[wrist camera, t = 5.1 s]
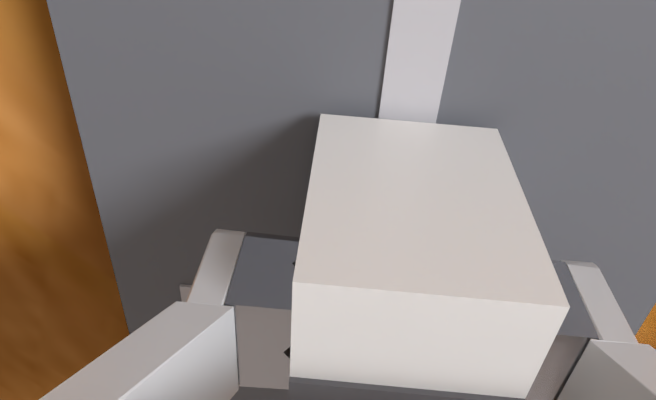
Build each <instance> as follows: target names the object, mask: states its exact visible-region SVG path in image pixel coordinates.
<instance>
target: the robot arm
mask: <svg viewBox="0 0 656 400" xmlns="http://www.w3.org/2000/svg"><path fill="white" fill-rule="evenodd" d="M299 240H300V237H291V236H282V235H273V234H264V233H255V232H242V231H233V230H224V229H216V230H215V231H214V232H213V233H212V234H211V237H210V240H209V242H208V245H207V247H206V250H205V253H204V255H203V258H202V260H201V263H200V266H199V268H198V271H197V274H196V276H195V279H194V281H193V284H192V287H191V289H190V292H189V295H188V297H187V300H186V302H179V301H176V302H174V303H173V304H172V305H170V306H169V307H167V308H166V309H165V310H163V311H162V312H160V313H159V314H158V315H156V316H155V317H153V318H152V319H151V320H149V321H148V322H146V323H145V324H144V325H142V326H141V327H139V328H138V329H137V330H135V331H134V332H132V333H131V334H130V335H128V336H127V337H125V338H124V339H123V340H121V341H120V342H118V343H117V344H116V345H114V346H113V347H112V348H110V349H109V350H107V351H106V352H105V353H103V354H102V355H100V356H99V357H98V358H96V359H95V360H93V361H92V362H91V363H89V364H88V365H86V366H85V367H84V368H82V369H81V370H79V371H78V372H77V373H75V374H74V375H72V376H71V377H70V378H68V379H67V380H65V381H64V382H63V383H61V384H60V385H58V386H57V387H56V388H54V389H53V390H51V391H50V392H49V393H47V394H46V395H45V396H43V397H42V398H40V399H39V400H230V399H231V398H232V397H233V396H234V395H235V393H236V392H237V391H238V390H239V386H242V387H257V388H273V389H288V390H289V377H290V348H291V315H292V282H293V276H294V270H295V264H296V258H297V252H298V246H299ZM551 261H552V264H553V266H554V269H555V271H556V274H557V276H558V279H559V281H560V283H561V286H562V288H563V291H564V293H565V296H566V298H567V301H568V303H569V305H570V308H569V311H568V313H567V315H566V317H565V319H564V321H563V323H562V325H561V327H560V329H559V331H558V333H557V335H556V337H555V339H554V341H553V343H552V345H551V347H550V349H549V351H548V353H547V355H546V357H545V359H544V361H543V364H542V366H541V368H540V370H539V372H538V374H537V376H536V378H535V380H534V382H533V384H532V386H531V388H530V390H529V392H528V394H527V396H526V398H525V400H656V350H655V349H654V348H653V347H651V346H650V345H648V344H639V343H638V341H637V340H636V338H635V336H634V334H633V332H632V330H631V328H630V326H629V324H628V322H627V320H626V319H625V317H624V315H623V313H622V311H621V309H620V307H619V305H618V303H617V301H616V299H615V297H614V296H613V294H612V292H611V290H610V288H609V286H608V284H607V282H606V280H605V278H604V276H603V275H602V273H601V271H600V269H599V267H598V266H597V265H595V264H594V263H593V262H581V261H567V260H560V261H557V260H551Z"/></svg>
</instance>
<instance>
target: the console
mask: <svg viewBox="0 0 656 400" xmlns="http://www.w3.org/2000/svg"><path fill="white" fill-rule="evenodd" d="M46 1H47V5H48V9H49V13H50V17H51V21H52V25H53V29H54V33H55V37H56V41H57V45H58V49H59V53H60V57H61V61H62V65H63V69H64V73H65V77H66V81H67V85H68V89H69V93H70V97H71V101H72V105H73V109H74V113H75V117H76V121H77V125H78V129H79V133H80V137H81V141H82V145H83V149H84V153H85V157H86V161H87V165H88V169H89V173H90V177H91V181H92V185H93V189H94V193H95V197H96V201H97V205H98V209H99V213H100V217H101V221H102V225H103V229H104V233H105V237H106V242H107V246H108V250H109V254H110V258H111V262H112V266H113V270H114V274H115V278H116V282H117V286H118V290H119V294H120V298H121V302H122V306H123V310H124V314H125V318H126V322H127V326H128V330H129V334H131V333H132V332H134V331H135V330H137V329H138V328H139V327H141V326H142V325H144V324H145V323H146V322H148V321H149V320H151V319H152V318H153V317H155V316H156V315H158V314H159V313H160V312H162V311H163V310H165V309H166V308H167V307H169V306H170V305H172V304H173V303H174V302H176V301H179V302H186V300H187V297H188V295H189V292H190V289H191V287H192V284H193V281H194V279H195V276H196V274H197V271H198V268H199V266H200V263H201V260H202V258H203V255H204V253H205V250H206V247H207V245H208V242H209V240H210V237H211V234H212V233H213V232H214V231H215V230H216V229H224V230H233V231H242V232H255V233H264V234H273V235H282V236H291V237H300V234H301V228H302V222H303V216H304V210H305V204H306V198H307V192H308V186H309V180H310V174H311V168H312V162H313V157H314V151H315V145H316V139H317V133H318V127H319V121H320V115H321V114H331V115H343V116H354V117H366V118H377V119H389V120H401V121H412V122H424V123H436V124H447V125H459V126H471V127H482V128H494V129H498V131H499V134H500V136H501V139H502V141H503V144H504V146H505V148H506V151H507V153H508V156H509V158H510V161H511V163H512V166H513V168H514V171H515V173H516V175H517V178H518V180H519V183H520V185H521V188H522V190H523V193H524V195H525V198H526V200H527V202H528V205H529V207H530V210H531V212H532V215H533V217H534V220H535V222H536V225H537V227H538V229H539V232H540V234H541V237H542V239H543V242H544V244H545V247H546V249H547V252H548V254H549V256H550V259H551V260H557V261H560V260H567V261H581V262H593V263H594V264H595V265H597V266H598V267H599V269H600V271H601V273H602V275H603V276H604V278H605V280H606V282H607V284H608V286H609V288H610V290H611V292H612V294H613V296H614V297H615V299H616V301H617V303H618V305H619V307H620V309H621V311H622V313H623V315H624V317H625V319H626V320H627V322H628V324H629V326H630V328H631V330H632V332H633V334H634V336H635V335H636V333H637V331H638V330H639V328H640V327H641V325H642V324H643V322H644V320H645V319H646V317H647V316H648V314H649V312H650V311H651V309H652V308H653V306H654V304H655V303H656V0H46ZM288 394H289V390H288V389H273V388H257V387H242V386H239V390H238V391H237V392H236V393H235V395H234V396H233V397H232V398H231V399H230V400H288Z"/></svg>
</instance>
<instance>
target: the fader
mask: <svg viewBox="0 0 656 400" xmlns="http://www.w3.org/2000/svg"><path fill="white" fill-rule="evenodd" d="M569 308H570V305H569V303H568V301H567V298H566V296H565V293H564V291H563V288H562V286H561V283H560V281H559V279H558V276H557V274H556V271H555V269H554V266H553V264H552V261H551V259H550V256H549V254H548V252H547V249H546V247H545V244H544V242H543V239H542V237H541V234H540V232H539V229H538V227H537V225H536V222H535V220H534V217H533V215H532V212H531V210H530V207H529V205H528V202H527V200H526V198H525V195H524V193H523V190H522V188H521V185H520V183H519V180H518V178H517V175H516V173H515V171H514V168H513V166H512V163H511V161H510V158H509V156H508V153H507V151H506V148H505V146H504V144H503V141H502V139H501V136H500V134H499V131H498V129H494V128H482V127H471V126H459V125H447V124H436V123H424V122H412V121H401V120H389V119H377V118H366V117H354V116H343V115H331V114H321V115H320V121H319V127H318V133H317V139H316V145H315V151H314V157H313V162H312V168H311V174H310V180H309V186H308V192H307V198H306V204H305V210H304V216H303V222H302V228H301V234H300V240H299V246H298V252H297V258H296V264H295V270H294V276H293V282H292V315H291V348H290V377H289V394H288V400H525V398H526V396H527V394H528V392H529V390H530V388H531V386H532V384H533V382H534V380H535V378H536V376H537V374H538V372H539V370H540V368H541V366H542V364H543V361H544V359H545V357H546V355H547V353H548V351H549V349H550V347H551V345H552V343H553V341H554V339H555V337H556V335H557V333H558V331H559V329H560V327H561V325H562V323H563V321H564V319H565V317H566V315H567V313H568V311H569Z"/></svg>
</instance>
